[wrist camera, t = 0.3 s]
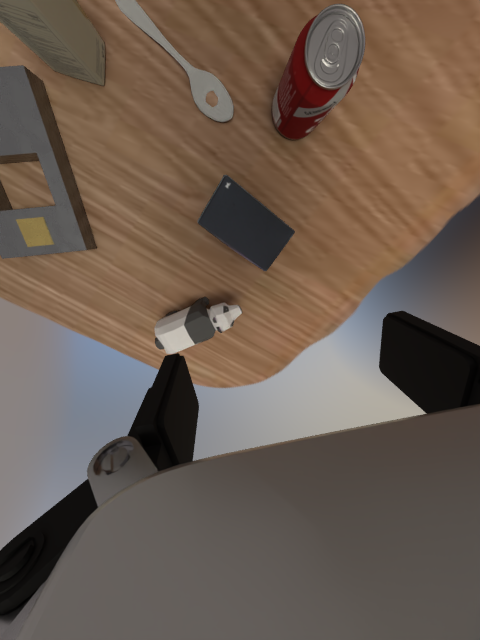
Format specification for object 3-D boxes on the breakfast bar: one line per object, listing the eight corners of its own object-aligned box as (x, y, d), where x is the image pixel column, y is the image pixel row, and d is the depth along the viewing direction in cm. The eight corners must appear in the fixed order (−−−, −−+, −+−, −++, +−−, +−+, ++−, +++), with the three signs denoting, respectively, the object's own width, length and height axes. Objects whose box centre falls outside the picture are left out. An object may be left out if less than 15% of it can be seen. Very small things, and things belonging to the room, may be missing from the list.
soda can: (265, 133, 32) (289, 84, 21) (278, 71, 30) (312, -22, 18) (309, 147, 33) (354, 106, 22) (325, 88, 31) (384, 9, 20)
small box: (200, 224, 36) (193, 223, 26) (223, 185, 34) (224, 169, 24) (254, 262, 39) (265, 274, 29) (277, 229, 37) (297, 229, 27)
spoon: (222, 136, 32) (222, 131, 30) (81, -15, 26) (73, -30, 24) (241, 108, 31) (242, 102, 29) (100, -55, 25) (92, -74, 23)
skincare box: (106, 42, 27) (25, -88, 16) (105, 88, 29) (31, -1, 18) (47, 22, 26) (-83, -133, 15) (50, 70, 28) (-67, -37, 17)
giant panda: (173, 339, 43) (161, 368, 34) (158, 314, 41) (141, 338, 32) (244, 310, 42) (250, 332, 33) (232, 283, 40) (235, 298, 31)
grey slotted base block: (-58, 88, 28) (-90, 72, 25) (42, 81, 28) (22, 64, 25) (19, 256, 35) (1, 258, 32) (97, 248, 36) (86, 249, 33)
